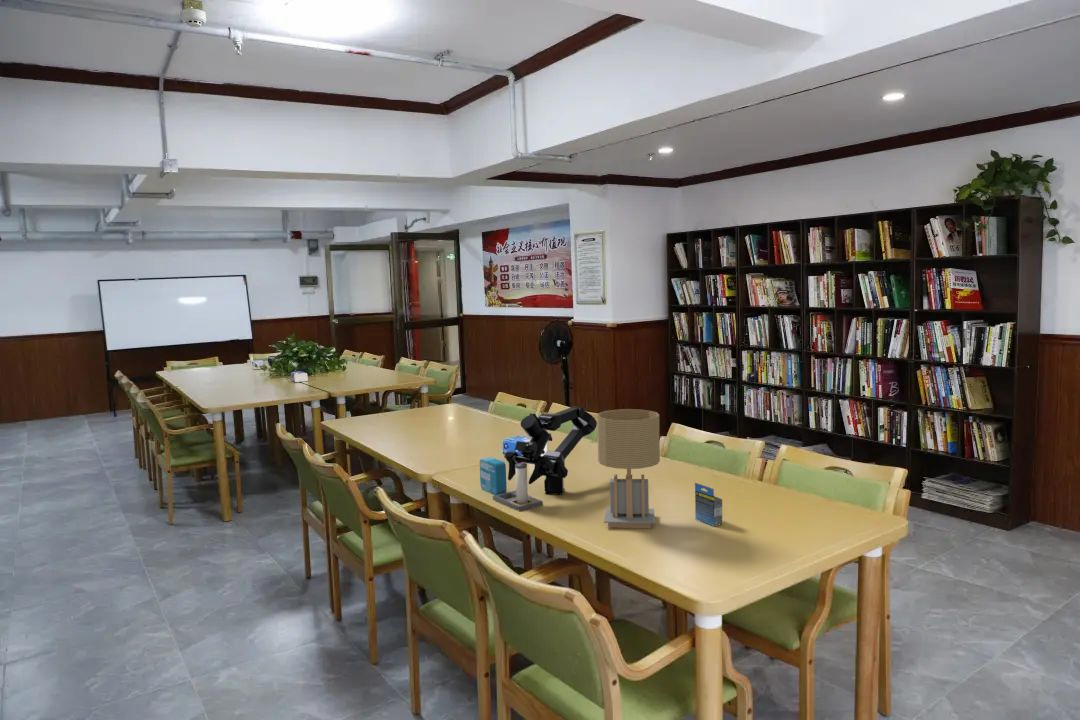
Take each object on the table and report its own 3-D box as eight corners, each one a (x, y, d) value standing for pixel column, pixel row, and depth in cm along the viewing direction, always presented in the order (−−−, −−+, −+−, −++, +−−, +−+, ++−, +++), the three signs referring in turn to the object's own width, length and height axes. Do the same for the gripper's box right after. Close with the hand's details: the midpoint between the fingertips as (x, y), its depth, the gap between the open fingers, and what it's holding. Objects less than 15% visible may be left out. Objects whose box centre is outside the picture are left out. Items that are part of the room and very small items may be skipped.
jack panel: (515, 494, 264) (515, 490, 264) (542, 505, 251) (542, 500, 250) (493, 499, 259) (492, 495, 258) (519, 511, 245) (518, 506, 245)
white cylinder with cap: (526, 503, 253) (524, 462, 251) (529, 507, 249) (528, 465, 247) (515, 505, 252) (513, 463, 250) (518, 508, 248) (517, 466, 246)
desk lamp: (597, 532, 222) (595, 420, 218) (601, 511, 242) (598, 409, 238) (661, 533, 220) (660, 420, 216) (659, 512, 239) (658, 409, 235)
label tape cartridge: (723, 524, 225) (723, 486, 224) (713, 527, 224) (713, 488, 222) (703, 517, 233) (703, 480, 232) (694, 519, 231) (694, 482, 230)
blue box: (480, 488, 273) (479, 458, 272) (490, 486, 276) (489, 456, 275) (496, 495, 264) (495, 464, 262) (507, 493, 266) (505, 462, 265)
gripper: (506, 429, 256) (487, 465, 249) (548, 434, 245) (529, 473, 238) (521, 446, 263) (502, 482, 256) (562, 452, 252) (544, 490, 245)
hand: (518, 481), depth 248 cm, fingers open, 9 cm apart
